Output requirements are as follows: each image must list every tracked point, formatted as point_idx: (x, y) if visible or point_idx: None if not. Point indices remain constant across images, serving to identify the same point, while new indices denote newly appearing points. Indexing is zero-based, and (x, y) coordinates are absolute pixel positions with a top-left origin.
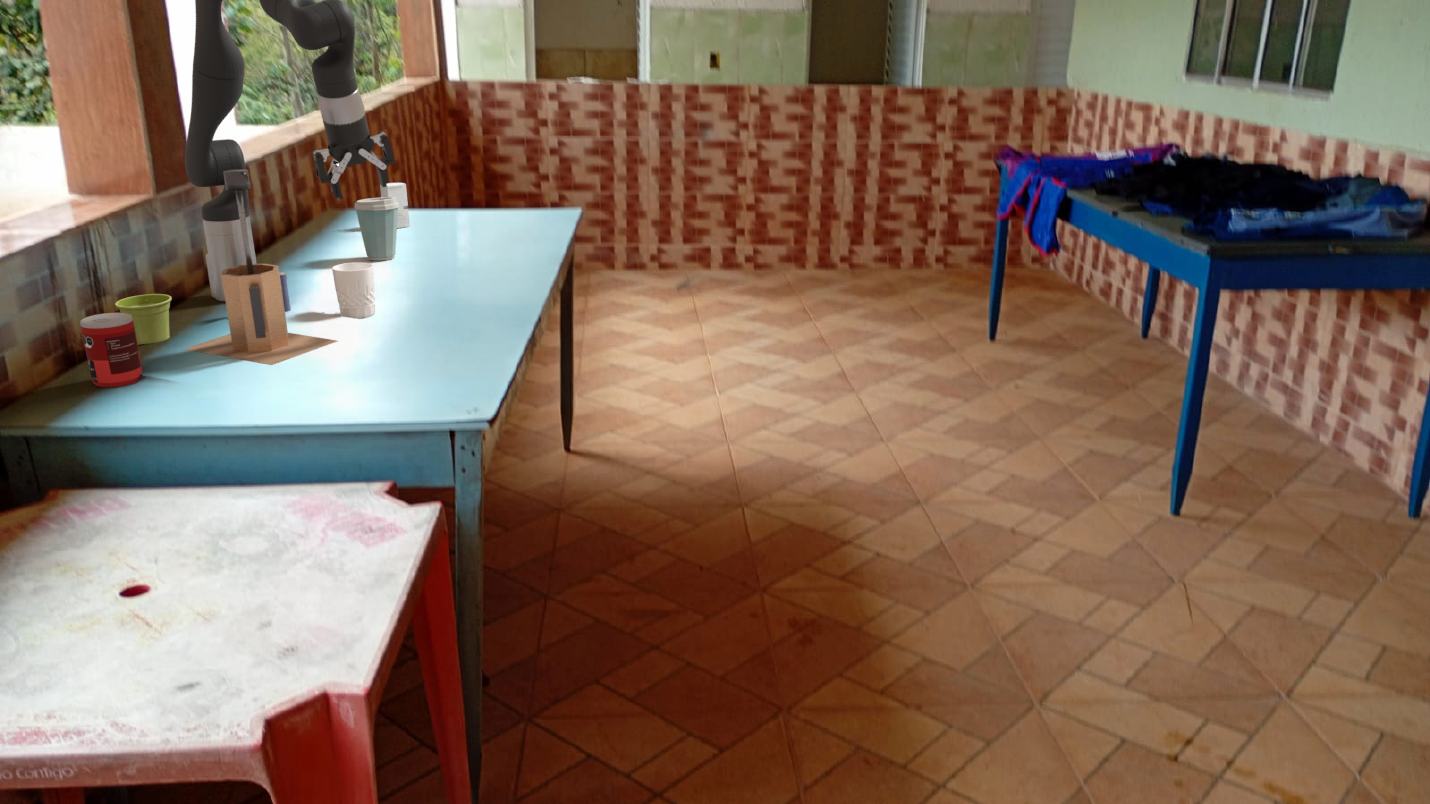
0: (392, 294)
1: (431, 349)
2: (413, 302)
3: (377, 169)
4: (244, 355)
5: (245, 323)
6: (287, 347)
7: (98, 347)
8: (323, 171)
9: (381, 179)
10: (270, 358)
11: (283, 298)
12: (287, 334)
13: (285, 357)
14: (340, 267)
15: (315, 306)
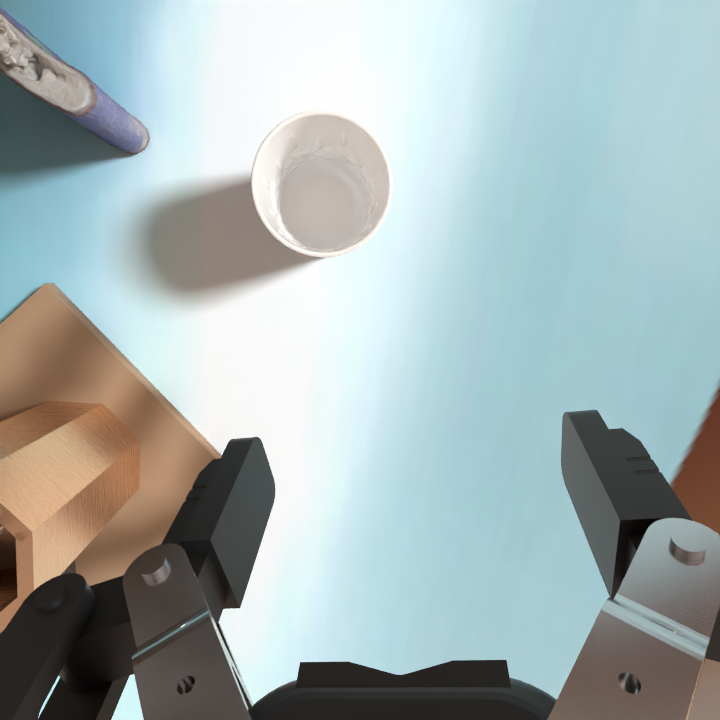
0: (445, 9)
1: (436, 577)
2: (482, 140)
3: (609, 527)
4: None
5: None
6: (137, 506)
7: None
8: None
9: (582, 519)
10: (101, 575)
11: (111, 138)
12: (132, 472)
13: None
14: (284, 130)
15: (218, 57)
